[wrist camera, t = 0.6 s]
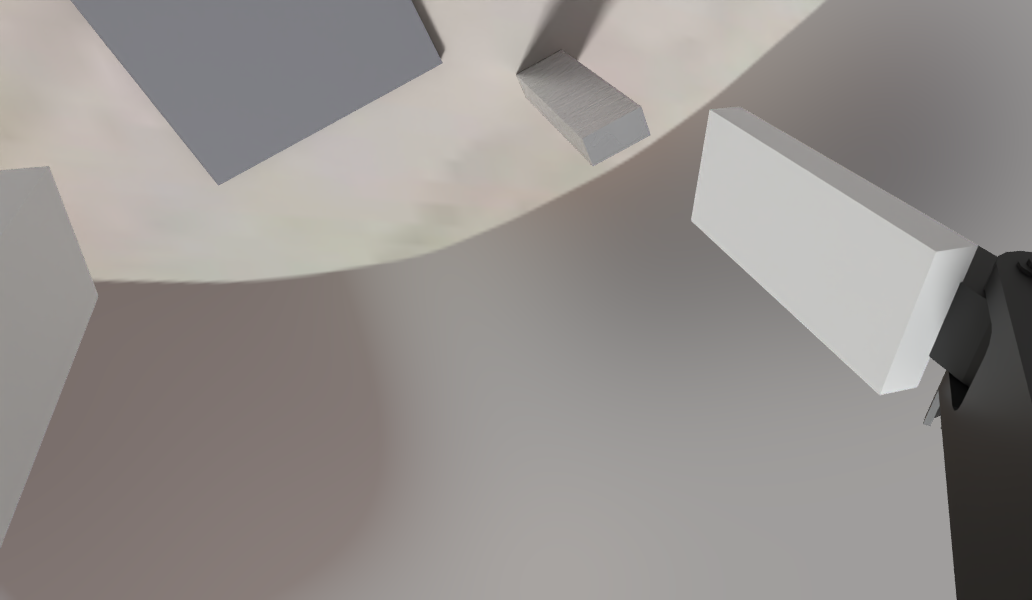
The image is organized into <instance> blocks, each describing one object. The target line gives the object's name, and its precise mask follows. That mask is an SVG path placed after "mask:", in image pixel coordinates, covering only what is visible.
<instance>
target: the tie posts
mask: <svg viewBox="0 0 1032 600" xmlns="http://www.w3.org/2000/svg"><path fill="white" fill-rule="evenodd" d="M516 76H517V78H518V81H519V83H520V85H521V87H522V90H523V92H524V94H525V97H526V98H527V99H528V100H529V101H530V102H531V103H532V104H533V105H534V106H535V107H536V108H537V109H538V111H539V112H540V113H541V114H542V115H543V116H544V117H545V118H546V119H547V120H548V121H549V122H550V123H551V124H552V125H553V126H554V127H555V128H556V129H557V130H558V131H559V132H560V133H561V134H562V135H563V136H564V137H565V138H566V139H567V140H568V141H569V142H570V143H571V144H572V145H573V146H574V147H575V148H576V149H577V150H578V151H579V152H580V154H581V155H582V156H583V157H584V158H585V159H586V160H587V161H588V162H589V163H590V164H591V165H592V166H594V165H596V164H598V163H600V162H602V161H604V160H605V159H607V158H609V157H611V156H613V155H615V154H616V153H618V152H620V151H622V150H624V149H626V148H628V147H629V146H631V145H633V144H635V143H637V142H639V141H640V140H642V139H644V138H646V137H648V136H650V132H649V129H648V126H647V123H646V120H645V117H644V113H643V110H642V107H641V106H640V105H638V104H637V103H636V102H634V101H633V100H631V99H630V98H629V97H627V96H626V95H624V94H623V93H622V92H620V91H619V90H617V89H616V88H615V87H613V86H612V85H610V84H609V83H608V82H606V81H605V80H603V79H602V78H601V77H599V76H598V75H597V74H595V73H594V72H592V71H591V70H590V69H588V68H587V67H585V66H584V65H583V64H581V63H580V62H578V61H577V60H576V59H574V58H573V57H571V56H570V55H569V54H567V53H566V52H564V51H563V50H561V51H559V52H557V53H555V54H553V55H551V56H550V57H548V58H546V59H544V60H542V61H540V62H539V63H537V64H535V65H533V66H531V67H529V68H528V69H526V70H524V71H522V72H520V73H518V74H516Z"/></svg>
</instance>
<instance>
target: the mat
mask: <svg viewBox="0 0 1032 600" xmlns="http://www.w3.org/2000/svg"><path fill="white" fill-rule="evenodd" d="M71 1H72V3H73V4H74V5H75V6H76V8H77V9H78V10H79V11H80V13H81V14H82V15H83V16H84V18H85V19H86V20H87V21H88V23H89V24H90V25H91V26H92V28H93V29H94V30H95V31H96V33H97V34H98V35H99V36H100V38H101V39H102V40H103V41H104V43H105V44H106V45H107V46H108V48H109V49H110V50H111V51H112V53H113V54H114V55H115V56H116V58H117V59H118V60H119V62H120V63H121V64H122V65H123V67H124V68H125V69H126V70H127V72H128V73H129V74H130V75H131V77H132V78H133V79H134V80H135V82H136V83H137V84H138V85H139V87H140V88H141V89H142V90H143V92H144V93H145V94H146V95H147V97H148V98H149V99H150V100H151V102H152V103H153V104H154V105H155V107H156V108H157V109H158V110H159V112H160V113H161V114H162V115H163V117H164V118H165V119H166V120H167V122H168V123H169V124H170V125H171V127H172V128H173V129H174V130H175V132H176V133H177V134H178V135H179V137H180V138H181V139H182V140H183V142H184V143H185V144H186V145H187V147H188V148H189V149H190V150H191V152H192V153H193V154H194V155H195V157H196V158H197V159H198V160H199V162H200V163H201V164H202V166H203V167H204V168H205V169H206V171H207V172H208V173H209V174H210V176H211V177H212V178H213V179H214V181H215V182H216V183H217V184H218V185H220V184H222V183H224V182H226V181H228V180H229V179H231V178H233V177H235V176H237V175H239V174H240V173H242V172H244V171H246V170H248V169H250V168H251V167H253V166H255V165H257V164H259V163H261V162H262V161H264V160H266V159H268V158H270V157H272V156H273V155H275V154H277V153H279V152H281V151H283V150H284V149H286V148H288V147H290V146H292V145H294V144H295V143H297V142H299V141H301V140H303V139H305V138H306V137H308V136H310V135H312V134H314V133H316V132H317V131H319V130H321V129H323V128H325V127H327V126H328V125H330V124H332V123H334V122H336V121H337V120H339V119H341V118H343V117H345V116H347V115H348V114H350V113H352V112H354V111H356V110H358V109H359V108H361V107H363V106H365V105H367V104H369V103H370V102H372V101H374V100H376V99H378V98H380V97H381V96H383V95H385V94H387V93H389V92H391V91H392V90H394V89H396V88H398V87H400V86H402V85H403V84H405V83H407V82H409V81H411V80H413V79H414V78H416V77H418V76H420V75H422V74H424V73H425V72H427V71H429V70H431V69H433V68H435V67H436V66H438V65H440V64H442V61H441V59H440V57H439V55H438V53H437V51H436V49H435V47H434V45H433V43H432V41H431V39H430V37H429V35H428V33H427V31H426V29H425V27H424V25H423V23H422V21H421V19H420V17H419V15H418V13H417V11H416V9H415V7H414V5H413V3H412V1H411V0H71Z"/></svg>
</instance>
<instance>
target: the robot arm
mask: <svg viewBox="0 0 1032 600" xmlns="http://www.w3.org/2000/svg"><path fill="white" fill-rule="evenodd" d="M691 221H692V222H693V223H694V224H695V225H697V226H698V227H699V228H700V229H701V230H702V231H703V232H704V233H705V234H706V235H707V236H708V237H709V238H710V239H712V240H713V241H714V242H715V243H716V244H717V245H718V246H719V247H720V248H721V249H722V250H723V251H725V252H726V253H727V254H728V255H729V256H730V257H731V258H732V259H733V260H734V261H735V262H736V263H737V264H739V265H740V266H741V267H742V268H743V269H744V270H745V271H746V272H747V273H748V274H749V275H751V277H753V278H754V279H755V280H756V281H757V282H758V283H759V284H760V285H761V286H762V287H763V288H764V289H766V290H767V291H768V292H769V293H770V294H771V295H772V296H773V297H774V298H775V299H776V300H777V301H778V302H780V303H781V304H782V305H783V306H784V307H785V308H786V309H787V310H788V311H789V312H790V313H791V314H793V315H794V316H795V317H796V318H797V319H798V320H799V321H800V322H801V323H802V324H803V325H804V326H806V327H807V328H808V329H809V330H810V331H811V332H812V333H813V334H814V335H815V336H816V337H817V338H819V339H820V340H821V341H822V342H823V343H824V344H825V345H826V346H827V347H828V348H829V349H830V350H832V351H833V352H834V353H835V354H836V355H837V356H838V357H839V358H840V359H841V360H842V361H843V362H844V363H845V364H847V365H848V366H849V367H850V368H851V369H852V370H853V371H854V372H855V373H856V374H857V375H858V376H860V377H861V378H862V379H863V380H864V381H865V382H866V383H867V384H868V385H869V386H870V387H871V388H873V389H874V390H875V391H876V392H877V393H878V394H879V395H882V394H887V393H892V392H897V391H901V390H906V389H911V388H916V387H918V384H919V382H920V380H921V377H922V375H923V373H924V370H925V368H926V366H927V363H928V361H929V359H930V357H931V358H932V359H933V360H935V361H936V362H937V363H938V364H940V365H941V366H942V367H943V368H945V369H946V372H945V374H944V376H943V379H942V381H941V383H940V385H939V387H938V390H937V392H936V394H935V397H934V399H933V401H932V403H931V405H930V407H929V410H928V412H927V414H926V416H925V419H924V422H923V424H925V425H929V426H930V425H931V423H932V421H933V419H934V418H936V417H938V416H940V415H941V429H942V436H943V449H944V460H945V471H946V481H947V494H948V504H949V516H950V529H951V539H952V551H953V562H954V574H955V585H956V597H957V600H1032V252H1025V251H1016V252H1015V251H1014V252H1006V253H1004V254H1002V255H1000V256H998V257H997V256H995V255H993V254H992V253H990V252H988V251H987V250H985V249H983V248H981V247H980V246H978V245H977V244H975V243H974V242H972V241H970V240H968V239H967V238H965V237H963V236H962V235H960V234H958V233H956V232H955V231H953V230H951V229H950V228H948V227H946V226H944V225H943V224H941V223H939V222H938V221H936V220H934V219H932V218H931V217H929V216H927V215H926V214H924V213H922V212H920V211H919V210H917V209H915V208H913V207H912V206H910V205H908V204H907V203H905V202H903V201H901V200H900V199H898V198H896V197H895V196H893V195H891V194H889V193H888V192H886V191H884V190H883V189H881V188H879V187H877V186H875V185H874V184H872V183H870V182H868V181H867V180H865V179H863V178H862V177H860V176H858V175H857V174H855V173H853V172H852V171H850V170H848V169H846V168H845V167H843V166H841V165H840V164H838V163H836V162H834V161H833V160H831V159H829V158H828V157H825V156H824V155H822V154H821V153H819V152H817V151H815V150H814V149H812V148H810V147H809V146H807V145H805V144H803V143H802V142H800V141H798V140H797V139H795V138H793V137H791V136H790V135H788V134H786V133H785V132H783V131H781V130H779V129H778V128H776V127H774V126H772V125H771V124H769V123H767V122H766V121H764V120H762V119H760V118H759V117H757V116H755V115H754V114H752V113H750V112H748V111H747V110H745V109H743V108H742V107H733V108H721V109H710V112H709V118H708V124H707V129H706V135H705V141H704V148H703V154H702V160H701V165H700V172H699V177H698V183H697V189H696V195H695V201H694V207H693V213H692V219H691ZM97 298H98V294H97V291H96V288H95V286H94V283H93V281H92V278H91V275H90V273H89V270H88V267H87V265H86V262H85V260H84V257H83V254H82V252H81V249H80V246H79V244H78V241H77V238H76V236H75V233H74V231H73V228H72V225H71V223H70V220H69V217H68V215H67V212H66V210H65V207H64V204H63V202H62V199H61V196H60V194H59V191H58V188H57V186H56V183H55V181H54V178H53V175H52V173H51V170H50V167H49V166H46V167H34V168H23V169H11V170H0V547H1V545H2V542H3V540H4V537H5V535H6V532H7V530H8V527H9V525H10V522H11V519H12V517H13V514H14V512H15V509H16V507H17V504H18V501H19V499H20V496H21V494H22V491H23V489H24V486H25V483H26V481H27V478H28V476H29V473H30V470H31V468H32V465H33V463H34V460H35V458H36V455H37V452H38V450H39V447H40V445H41V442H42V440H43V437H44V435H45V432H46V429H47V427H48V424H49V422H50V419H51V416H52V414H53V411H54V409H55V406H56V404H57V401H58V398H59V396H60V393H61V391H62V388H63V386H64V383H65V381H66V378H67V375H68V373H69V370H70V367H71V365H72V363H73V360H74V357H75V355H76V352H77V350H78V347H79V345H80V342H81V339H82V337H83V334H84V332H85V329H86V327H87V324H88V321H89V319H90V316H91V314H92V311H93V309H94V306H95V304H96V301H97Z"/></svg>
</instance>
